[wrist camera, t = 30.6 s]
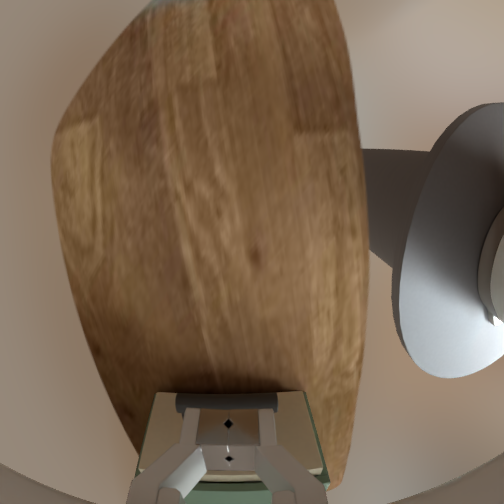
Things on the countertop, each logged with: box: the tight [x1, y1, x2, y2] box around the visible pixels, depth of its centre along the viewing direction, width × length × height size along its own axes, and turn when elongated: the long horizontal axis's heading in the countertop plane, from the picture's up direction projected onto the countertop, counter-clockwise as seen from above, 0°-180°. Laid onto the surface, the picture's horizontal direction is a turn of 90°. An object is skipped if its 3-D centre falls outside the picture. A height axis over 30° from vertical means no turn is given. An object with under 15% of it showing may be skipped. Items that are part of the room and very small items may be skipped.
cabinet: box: [135, 392, 330, 504], centre depth 23 cm, size 15×15×11 cm
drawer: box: [138, 391, 323, 483], centre depth 22 cm, size 18×13×9 cm
